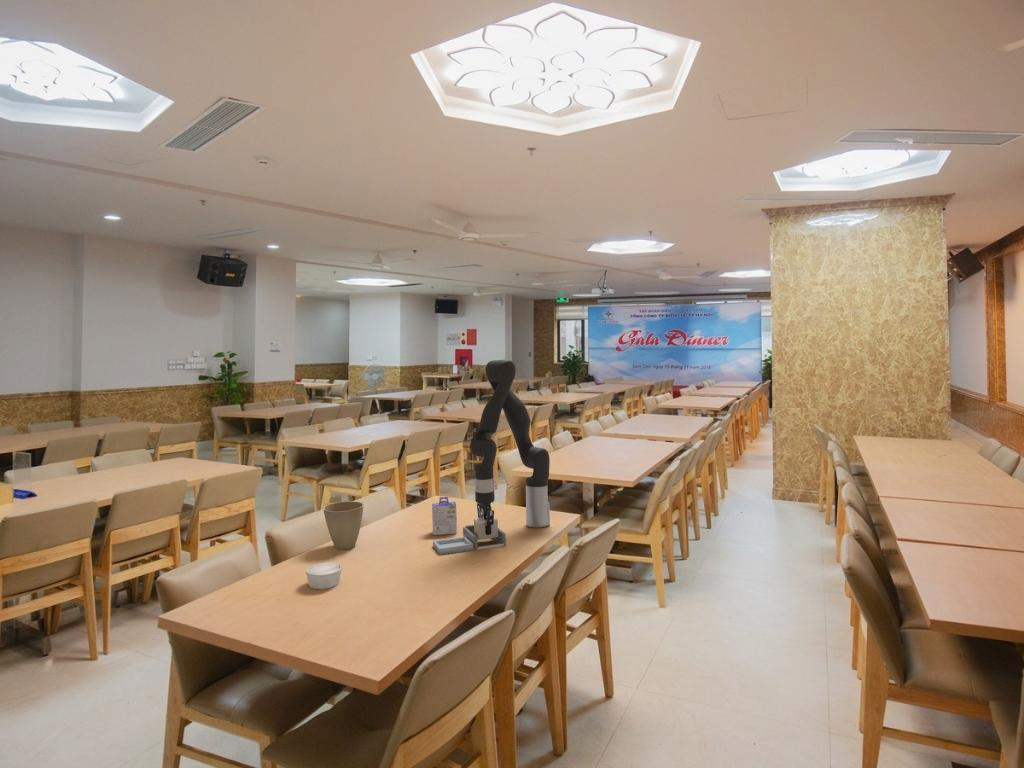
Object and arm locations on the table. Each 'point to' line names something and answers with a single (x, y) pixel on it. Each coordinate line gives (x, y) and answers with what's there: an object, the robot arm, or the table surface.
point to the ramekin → (323, 575)
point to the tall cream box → (480, 529)
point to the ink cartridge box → (444, 517)
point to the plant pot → (344, 523)
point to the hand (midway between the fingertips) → (486, 532)
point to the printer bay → (469, 533)
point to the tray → (453, 545)
